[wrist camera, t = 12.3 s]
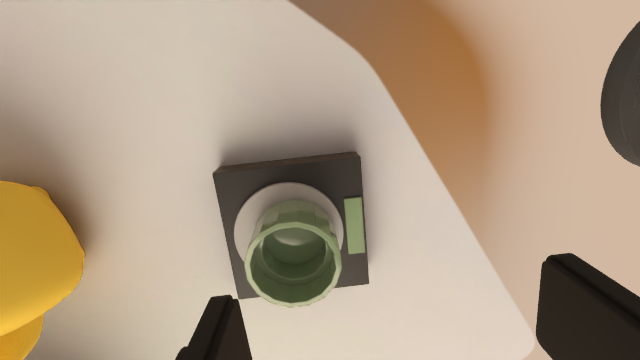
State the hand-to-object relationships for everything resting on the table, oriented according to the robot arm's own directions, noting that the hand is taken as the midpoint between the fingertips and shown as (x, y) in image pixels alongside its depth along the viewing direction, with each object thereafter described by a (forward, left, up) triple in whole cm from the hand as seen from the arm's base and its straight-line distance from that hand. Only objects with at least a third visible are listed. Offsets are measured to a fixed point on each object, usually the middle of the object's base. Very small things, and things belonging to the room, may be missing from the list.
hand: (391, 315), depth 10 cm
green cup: (+4, +6, -19) cm, 20 cm away
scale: (+4, +6, -22) cm, 23 cm away
